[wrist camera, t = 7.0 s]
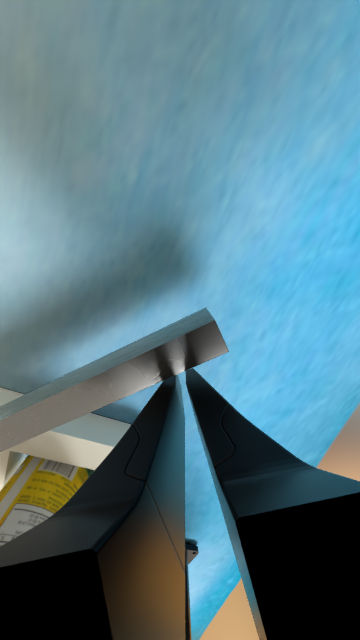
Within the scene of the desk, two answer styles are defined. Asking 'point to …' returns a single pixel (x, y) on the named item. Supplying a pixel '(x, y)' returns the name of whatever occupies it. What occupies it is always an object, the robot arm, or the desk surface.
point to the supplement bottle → (36, 494)
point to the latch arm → (112, 378)
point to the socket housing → (64, 442)
